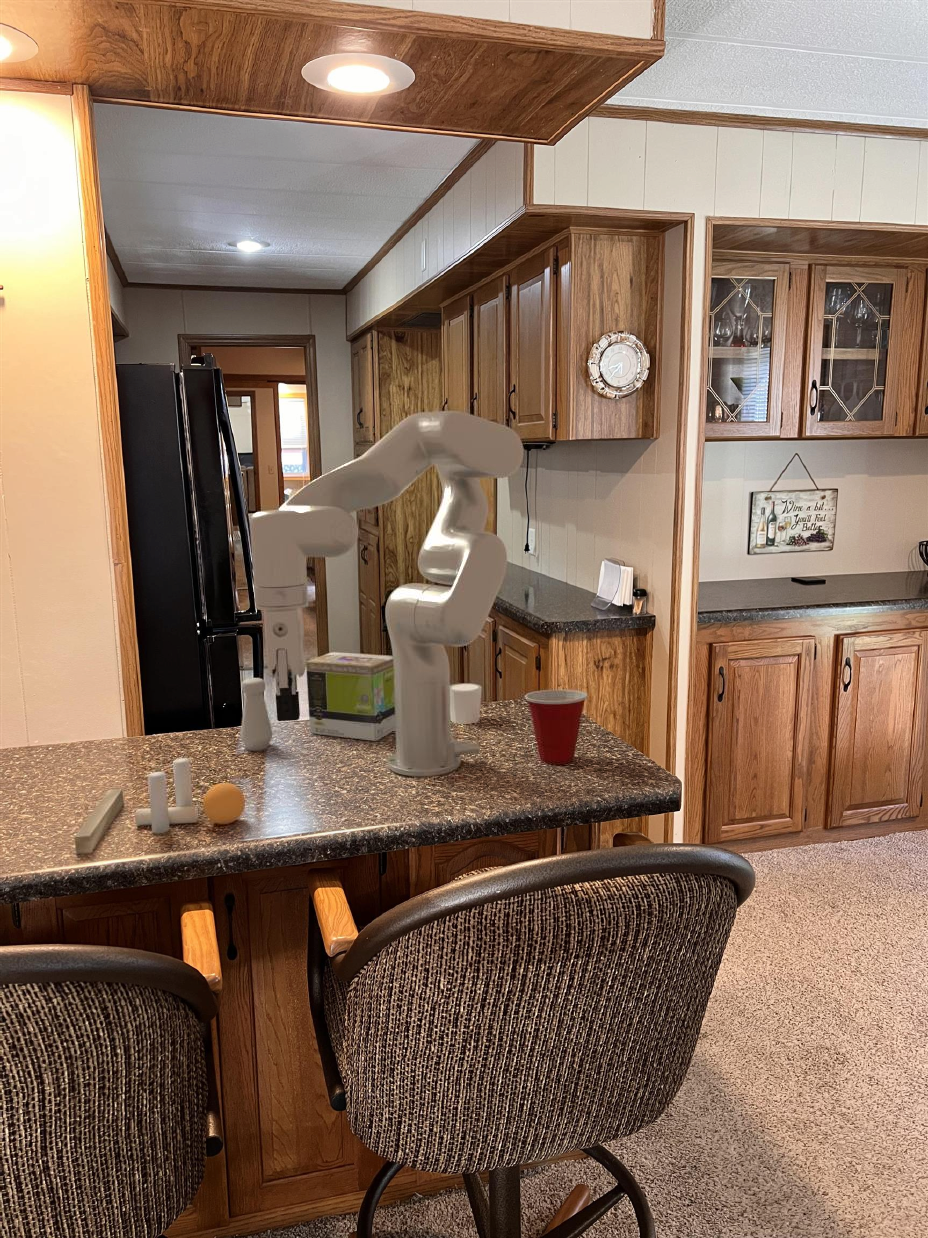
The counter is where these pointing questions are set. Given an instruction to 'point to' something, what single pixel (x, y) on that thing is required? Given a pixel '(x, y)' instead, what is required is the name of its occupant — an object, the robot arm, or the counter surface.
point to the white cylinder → (465, 703)
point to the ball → (223, 803)
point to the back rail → (99, 821)
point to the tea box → (351, 695)
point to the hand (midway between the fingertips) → (288, 719)
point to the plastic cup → (556, 722)
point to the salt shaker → (255, 716)
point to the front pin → (174, 815)
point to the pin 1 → (158, 802)
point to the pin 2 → (182, 782)
